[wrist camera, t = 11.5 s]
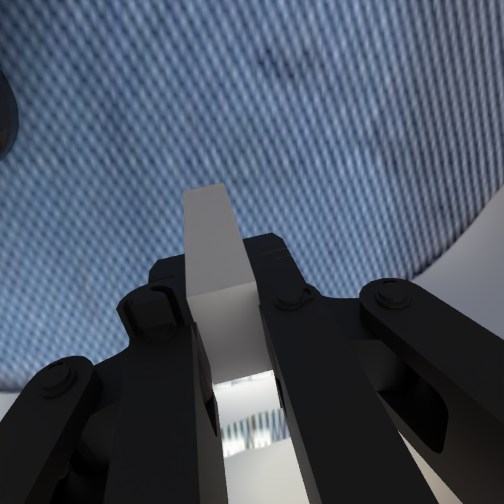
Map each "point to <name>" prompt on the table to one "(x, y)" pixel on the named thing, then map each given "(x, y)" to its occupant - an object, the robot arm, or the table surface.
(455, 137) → the table surface
